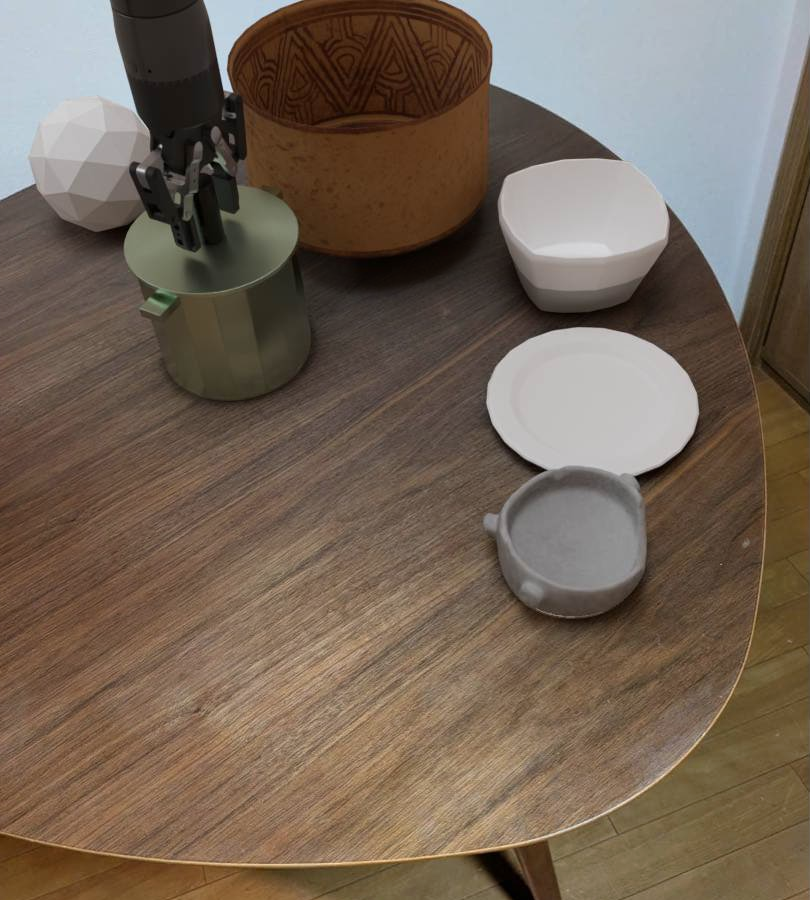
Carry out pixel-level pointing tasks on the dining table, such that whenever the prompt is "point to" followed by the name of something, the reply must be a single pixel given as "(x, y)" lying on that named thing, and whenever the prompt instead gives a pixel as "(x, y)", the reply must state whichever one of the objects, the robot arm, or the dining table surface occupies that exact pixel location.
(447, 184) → the pot
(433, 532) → the dining table surface
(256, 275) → the lid
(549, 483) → the dish
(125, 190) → the geometric shape
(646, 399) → the plate
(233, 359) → the enamel pot
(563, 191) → the bowl
